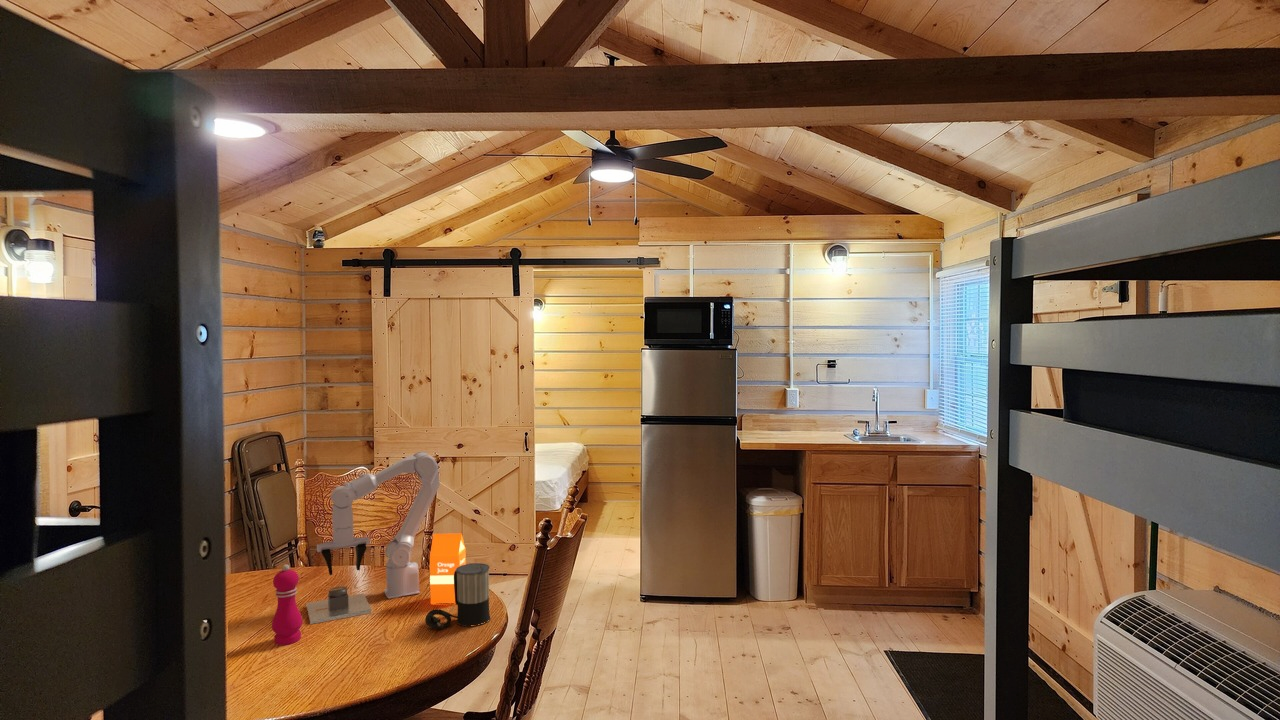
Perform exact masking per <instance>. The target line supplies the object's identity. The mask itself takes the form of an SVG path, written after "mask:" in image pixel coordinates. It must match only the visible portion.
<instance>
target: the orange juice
mask: <svg viewBox="0 0 1280 720" xmlns="http://www.w3.org/2000/svg"><path fill="white" fill-rule="evenodd" d="M466 555H467V554H466V546H465V542H464V537H463V534H462V533H433V535H432V540H431V547H430V553H429V585H430V586H429V587H430V589H429V590H430V605H437V604H436V603H455V592H454V572H455V570H456V568H457V567H459V566H461V565H465V564H467V560H466Z"/></svg>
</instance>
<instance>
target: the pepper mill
mask: <svg viewBox="0 0 1280 720" xmlns="http://www.w3.org/2000/svg"><path fill="white" fill-rule="evenodd" d="M299 581H300V577H299V574H298V573H297V571H295V570H293V569H290V565H289V564H283V565H282V566H281V570H280V571H279V572H277V573H276V574H275V575H274V577H273V580H272V582H273V583H272V584H273V585H272V586H273V587H274V588H275V589H276V590H275V597H277V607H276V610H275V612H274V616H273V618H272V622H271V630H272V631H273V632H274V633H275V634H274V636H273V638H274V639H273V640H274V641H273V643H274V644H275V645H276V644H277V646H286V645H292V644H294V643H297V642H299V641H300V640H301V638H302V634H301V633H302V632H301V630H300V629H301V627H303V617H302V613H301V612H300V610H299V608H298V606H297V602H296V594H297V593H298V591H297V589H298V588H297V585H298V584H299Z"/></svg>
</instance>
